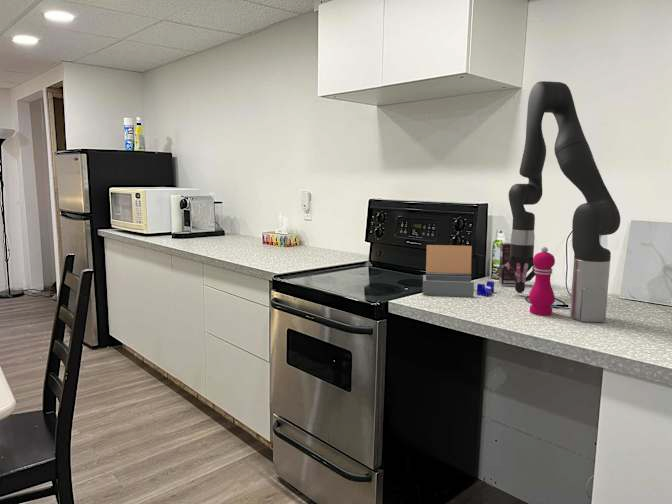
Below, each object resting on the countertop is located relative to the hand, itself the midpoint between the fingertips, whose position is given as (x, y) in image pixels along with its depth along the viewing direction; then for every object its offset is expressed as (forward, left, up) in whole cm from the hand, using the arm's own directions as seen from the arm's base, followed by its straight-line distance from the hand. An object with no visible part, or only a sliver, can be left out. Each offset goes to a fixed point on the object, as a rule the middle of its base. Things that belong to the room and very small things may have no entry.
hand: (519, 292), depth 174 cm
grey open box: (0, +24, -1) cm, 24 cm away
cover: (+7, +24, +10) cm, 27 cm away
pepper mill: (-23, -2, -1) cm, 23 cm away
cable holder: (+1, +11, -1) cm, 11 cm away
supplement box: (+17, 0, -1) cm, 17 cm away
